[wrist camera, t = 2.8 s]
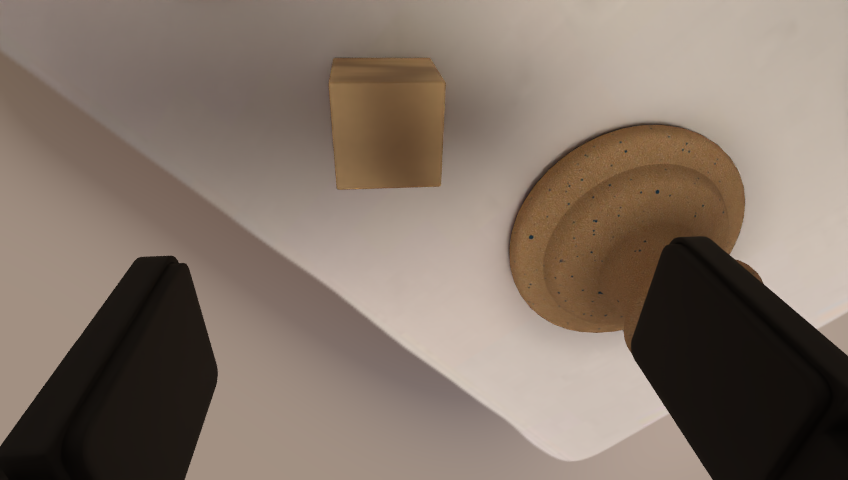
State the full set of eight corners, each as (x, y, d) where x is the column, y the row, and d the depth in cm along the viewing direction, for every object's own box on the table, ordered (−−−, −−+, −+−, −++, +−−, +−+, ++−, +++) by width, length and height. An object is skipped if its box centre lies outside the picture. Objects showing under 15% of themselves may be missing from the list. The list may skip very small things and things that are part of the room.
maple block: (339, 151, 21) (336, 190, 18) (332, 57, 19) (328, 82, 16) (427, 149, 22) (441, 187, 19) (430, 57, 20) (446, 82, 16)
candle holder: (706, 70, 21) (2007, 558, 5) (747, 256, 28) (1357, 750, 11) (466, 205, 24) (747, 872, 7) (555, 349, 30) (815, 880, 13)
